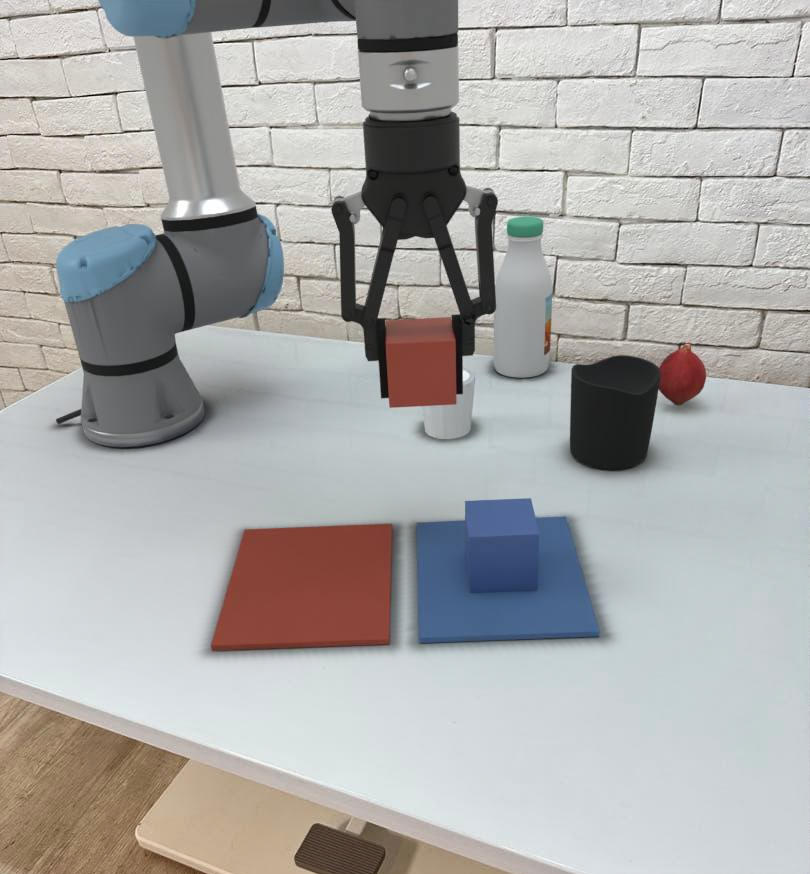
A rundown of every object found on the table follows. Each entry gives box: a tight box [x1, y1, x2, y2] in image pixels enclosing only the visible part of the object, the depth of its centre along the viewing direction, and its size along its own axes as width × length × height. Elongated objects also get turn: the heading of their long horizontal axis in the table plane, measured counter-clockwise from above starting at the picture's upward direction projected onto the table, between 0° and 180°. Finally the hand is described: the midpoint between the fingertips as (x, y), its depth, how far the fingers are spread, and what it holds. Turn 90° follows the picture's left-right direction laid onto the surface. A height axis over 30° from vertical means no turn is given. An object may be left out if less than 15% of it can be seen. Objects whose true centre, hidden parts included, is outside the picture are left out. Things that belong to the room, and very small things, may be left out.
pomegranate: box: [658, 343, 707, 406], centre depth 105 cm, size 6×6×8 cm
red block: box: [385, 316, 456, 409], centre depth 77 cm, size 6×6×6 cm
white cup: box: [421, 366, 476, 440], centre depth 103 cm, size 7×7×7 cm
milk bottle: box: [493, 216, 553, 379], centre depth 114 cm, size 8×8×20 cm
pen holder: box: [569, 354, 661, 471], centre depth 95 cm, size 9×9×10 cm
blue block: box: [464, 497, 540, 593], centre depth 77 cm, size 6×6×6 cm
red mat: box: [210, 522, 393, 651], centre depth 79 cm, size 15×18×1 cm
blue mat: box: [416, 515, 600, 644], centre depth 78 cm, size 15×18×1 cm
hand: (421, 389), depth 79 cm, fingers closed on red block, 6 cm apart
